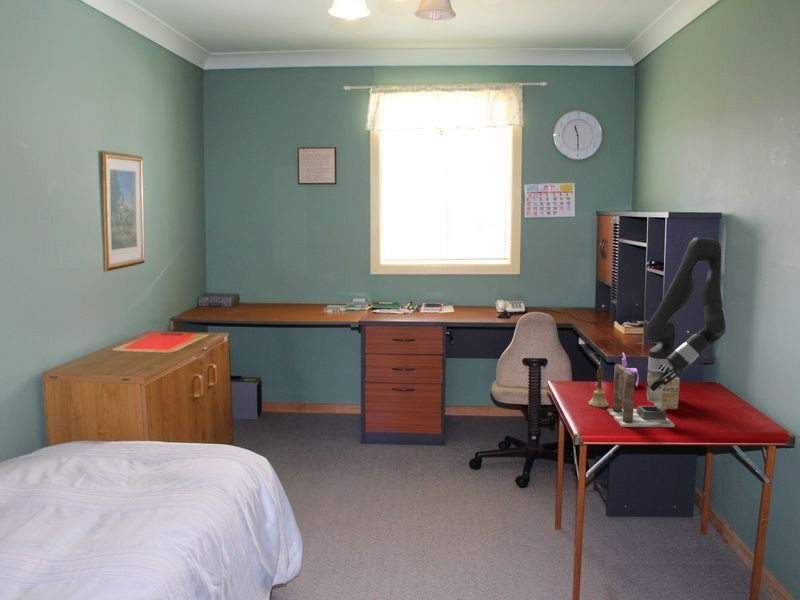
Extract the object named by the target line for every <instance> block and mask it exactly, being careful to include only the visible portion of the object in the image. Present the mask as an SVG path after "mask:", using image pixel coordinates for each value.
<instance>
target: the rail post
mask: <svg viewBox="0 0 800 600" xmlns="http://www.w3.org/2000/svg"><path fill="white" fill-rule="evenodd" d="M662 373H663V372H662V371H661V370H659V369H648V368H647V378H648V389H647V388H646V400H647V401H648V402H650V403H654V402H657V403H661V391H662V385H660V386H659V387H658V388H657V389H656V390H655V391H652V390H651V389H650V386H651V385H652V384H653V383H654V382H655V381H657V379H658V378H659V377H660V375H661V374H662Z"/></svg>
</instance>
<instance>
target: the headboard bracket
mask: <svg viewBox="0 0 800 600" xmlns="http://www.w3.org/2000/svg"><path fill="white" fill-rule="evenodd" d="M626 368H627V367H626ZM626 368H625V367H624V366H623V365H622V363H621V364H615V365H614V369H613V371H614V372H613V373H614V374H613V392H612V393H613V394H612V395H613V396H612V408H607V412H608V413H609V414H610V416H611V415H612V416H613V417H612V416H611V417H612V418H613V419H614V420H615V421H616V422H617V423H618V424H619V425H620V427H622V428H623V427H626V428H627V427H628V428H629V427H632V428H638V427H639V428H642V427H643V428H675V423H674V422H672V420H670V419H669V418H668V417H667V412H666V410H663V409H662V408H660V407H659V406H654V405H637V406H636V408H634V401H635V386H636V382H635V381H636V375H635V373H631V372H630V371H628V370H627V369H626Z"/></svg>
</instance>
